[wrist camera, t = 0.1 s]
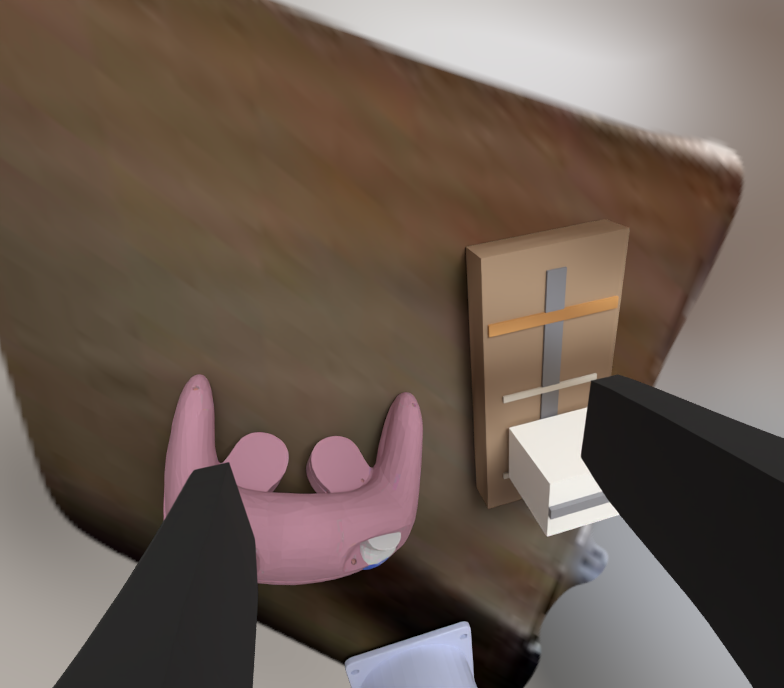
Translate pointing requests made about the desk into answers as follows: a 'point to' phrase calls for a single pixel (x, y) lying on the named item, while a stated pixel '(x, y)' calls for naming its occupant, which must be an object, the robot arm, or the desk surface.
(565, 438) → the fader tab
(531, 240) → the fader board
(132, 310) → the desk surface
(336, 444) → the video game controller
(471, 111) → the desk surface
